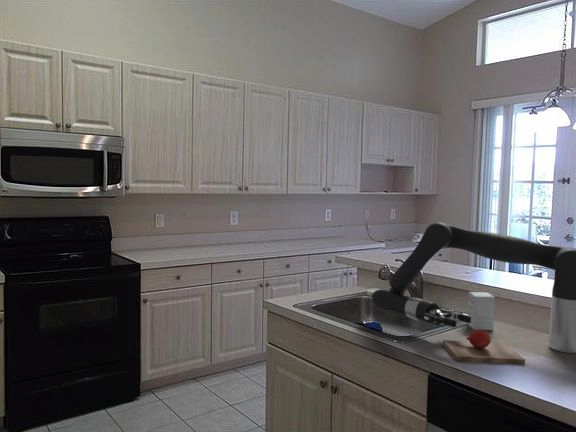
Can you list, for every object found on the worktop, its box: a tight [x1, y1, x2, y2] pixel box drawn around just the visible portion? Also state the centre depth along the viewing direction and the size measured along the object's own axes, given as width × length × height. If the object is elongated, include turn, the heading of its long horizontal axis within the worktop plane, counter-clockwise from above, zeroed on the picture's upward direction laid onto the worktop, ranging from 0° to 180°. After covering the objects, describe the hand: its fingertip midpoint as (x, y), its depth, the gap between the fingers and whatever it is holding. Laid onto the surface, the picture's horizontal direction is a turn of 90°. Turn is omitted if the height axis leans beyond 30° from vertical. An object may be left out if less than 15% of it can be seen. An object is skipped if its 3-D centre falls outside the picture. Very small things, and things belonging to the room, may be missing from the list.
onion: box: [466, 330, 492, 349], centre depth 151 cm, size 6×6×8 cm
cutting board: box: [442, 339, 526, 365], centre depth 150 cm, size 20×15×2 cm
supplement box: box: [466, 291, 496, 331], centre depth 179 cm, size 7×7×13 cm
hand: (463, 321), depth 154 cm, fingers open, 8 cm apart
